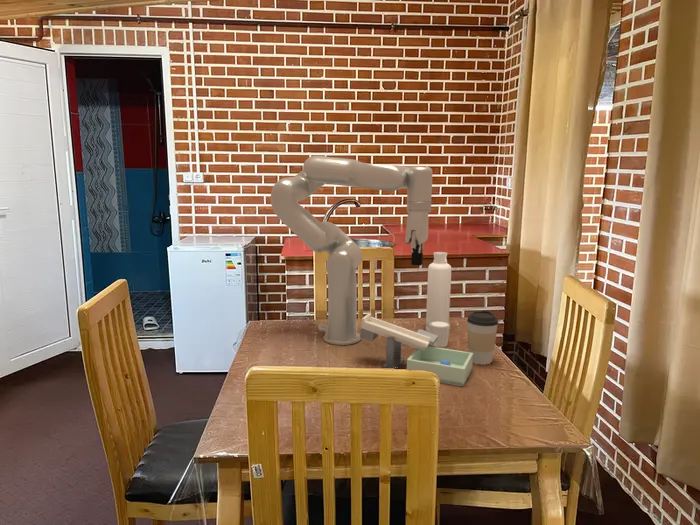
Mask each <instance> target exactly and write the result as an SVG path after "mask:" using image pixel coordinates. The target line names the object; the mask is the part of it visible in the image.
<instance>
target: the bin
mask: <svg viewBox="0 0 700 525" xmlns="http://www.w3.org/2000/svg"><path fill="white" fill-rule="evenodd" d="M443 360H447V361H449V362H450V365H451V366H449V365H443V364H440V363H441V361H443ZM407 369H411V370H428V371H432V372H434V373H436V374H437V375H438V376H439V378H440V382H439V383H440V384H445V385H446V384H447V385H452V386H457V387H465V384H466V383H467V381H468V379H469V376H470V375H471V372H472V371H473V353H470V352H468V351H462V350H457V349H451V348H444V347H435V346H432V345H428V346H427V348H426V349H425V350H424V351H423V350H420V349H418V348H415V350H414V351H413V352H412V353H411V354H410V356H409V357H408V358H407V359H406V370H407ZM442 382H443V383H442Z"/></svg>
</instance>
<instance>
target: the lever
mask: <svg viewBox="0 0 700 525" xmlns="http://www.w3.org/2000/svg"><path fill="white" fill-rule="evenodd" d="M359 328H360V329H361V330H360V333H359V334H360V338H361V339H363V340H366V341H368V342H371V343H372V342H373V341H374V340H376V339H377V338H378V337H379V335H380V336H382V337H385V338H387V337H390V338H394V340H396V341H398V342H401V343H402V344H404V345H407V346H410V347H412V348H415V349H417V348H418V349H420V350H423V351H424V350H425V349H426V348H427V346H432V345H433V344H434V343H435V342H436V340H437V339H438V335H435V334H432V333H430V332H428V331H426V330H424V329H421V328H419V329H418V330H417V331H413V330H410V329H408V328H404V327H402V326H400V325H396V324H394V323H391V322H389V321H384V320H383V319H379V318H376V317H374V316H372V313H367V314H366V315H365V316H363V317H362V318H361V323H360V326H359Z"/></svg>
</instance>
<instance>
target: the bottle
mask: <svg viewBox="0 0 700 525" xmlns="http://www.w3.org/2000/svg"><path fill="white" fill-rule="evenodd" d="M447 256H448V252H445V251H435V252H433V260H432V261H433V262H431V263H430V264H429V265H428V267H427V268H428V269H427V289H426V290H427V291H426V292H427V293H426V313H425V314H426V315H425V317H426V318H425V331H427V332H429V323H430V322H433V321H443V322H447V323H449V324H450V306H451V286H452V266H451V265H450V264H449V263H448V259H447ZM429 333H430V332H429Z"/></svg>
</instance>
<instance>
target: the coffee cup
mask: <svg viewBox="0 0 700 525" xmlns="http://www.w3.org/2000/svg"><path fill="white" fill-rule="evenodd" d="M498 324H499V319H498V318H497V317H496V316H495V314H494V313H492V312H491V311H489V310H481V311H472V313H471V314H469V315H468V316H467V348H468V351H467V352H470V353H473V363H475V364H474V365H477V364H481V365H480V366H486V365H485V364H489V365H491V364H492V363H491V362H493V357H494V351H495V347H496V341H497V332H498V330H497V329H498ZM490 363H491V364H490ZM482 364H484V365H482Z"/></svg>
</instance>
